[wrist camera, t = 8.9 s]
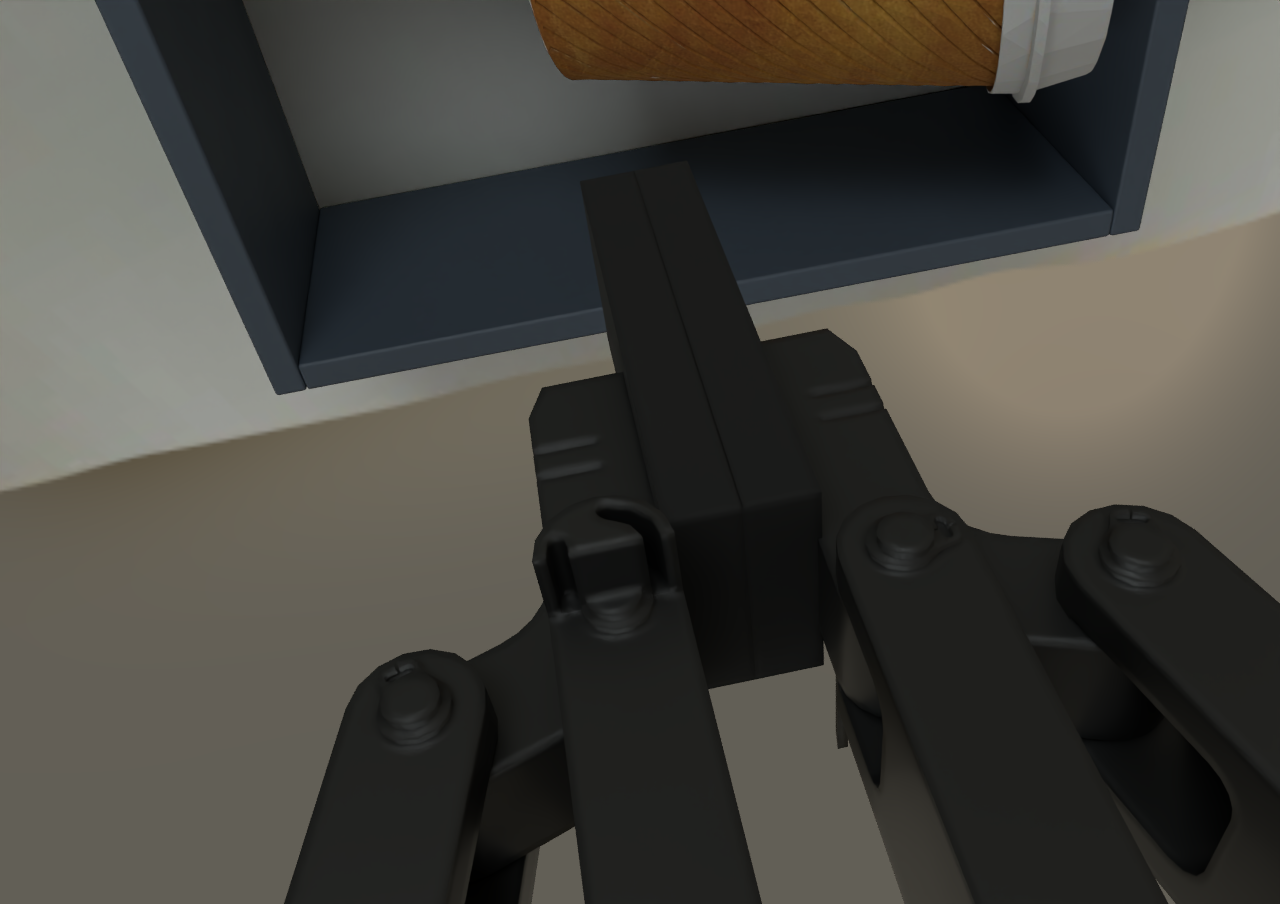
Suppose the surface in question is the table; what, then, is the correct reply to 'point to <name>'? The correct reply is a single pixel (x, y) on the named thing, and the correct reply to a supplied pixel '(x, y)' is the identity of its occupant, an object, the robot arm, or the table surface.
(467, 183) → the bin
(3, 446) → the table surface
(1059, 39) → the disposable coffee cup
